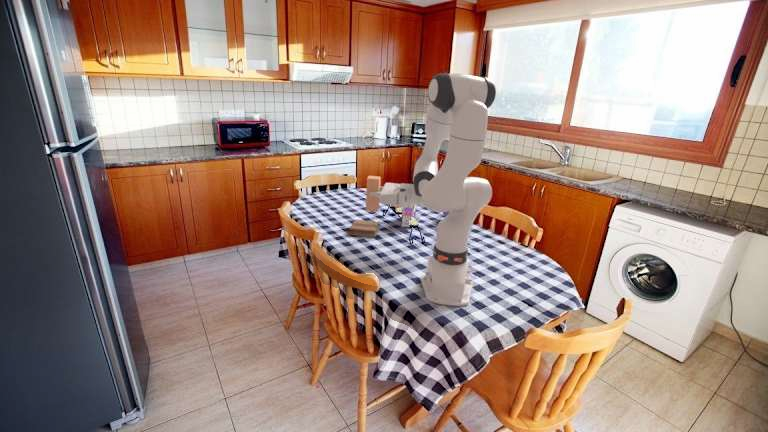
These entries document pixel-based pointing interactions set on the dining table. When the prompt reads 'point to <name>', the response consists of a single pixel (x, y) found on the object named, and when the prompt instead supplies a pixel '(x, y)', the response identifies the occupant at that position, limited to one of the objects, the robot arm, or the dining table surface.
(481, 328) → the dining table surface
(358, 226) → the walnut riser
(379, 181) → the terracotta block
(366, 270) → the dining table surface
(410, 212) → the candy box
